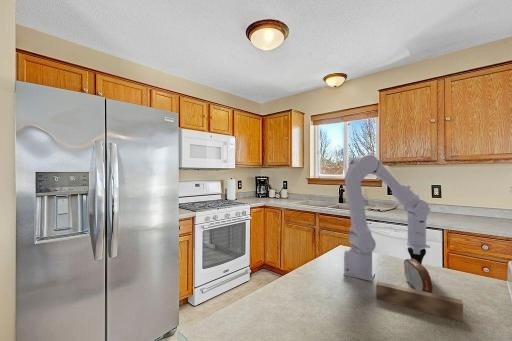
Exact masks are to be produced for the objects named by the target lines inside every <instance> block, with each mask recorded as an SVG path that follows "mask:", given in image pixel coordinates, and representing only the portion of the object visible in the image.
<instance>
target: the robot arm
mask: <svg viewBox="0 0 512 341" xmlns="http://www.w3.org/2000/svg"><path fill="white" fill-rule="evenodd" d="M368 175H373V176H376V177H377V178H378V179H380V181H381V182H383V183H384V184H385V185H386V186H387V187H389V189H390V190H391V195H392V196H393V197H394V198H396V200H397V201H398V202H399V203H400V204H401V206H403V210H404V211H405V212H407V242H406V245H407V252H408V254H409V256H410V259H415V260H416V261H418V262H419V263H420V264H421V265H423V259H424V257H425V256H426V254H427V248H428V249H429V248H431V245H430V244H428V243H427V219H428V215H429V213H430V212H431V207H429V204H428V203H427V201H425V200H422V199H421V198H420V196H419V195H418V194H416V193H415V192H414V191H413V190H412V189H411V186H410V185H408V184H405V183H399V181H398V180H397V178H395V177H394V175H393V174H391V172H390V171H389V170H388V169H387V168H386V167H385V166H384V164H383V162H382V161H381V160H379V159H378V158H377V157H376V156H375V155H373V154H366V155H357V156H354V158H352V160H350V161H349V163H348V168H347V171H346V173H345V176H344V184H345V190H346V198H347V203H348V210H349V216H350V224H351V225H350V227H349V235H348V241H349V243H350V245H351V246H350V248H345V250H344V255H343V256H344V257H343V276H346V277H347V276H348V277H352V278H357V279H360V280H365V281H370V282H372V281H373V279H374V276H375V275H376V272H375V271H373V252H374V251H375V249H376V248H377V247H376V246H377V243H376V240H375V239H374V237H373V235H372V231H371V229H370V227H369V226H368V223H367V222H368V221H367V216H366V215H367V214H366V209H365V204H364V203H365V202H364V196H363V191H362V190H363V189H362V184H361V183H362V181H363V180H364V179H365V178H366V177H367V176H368Z"/></svg>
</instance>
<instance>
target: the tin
mask: <svg viewBox="0 0 512 341" xmlns="http://www.w3.org/2000/svg"><path fill="white" fill-rule="evenodd" d="M403 267H404V269H403V270H404V276H405V279H406V281H407V282H408V284H409V286H411V287H412V289H415V290H419V291H424V292H428V293H433V282H432V278H431V275H430V273H429V271H428V269H427V267H425V266H424V265H423V264H420V263H419V262H418V261H416V260H415V259H411V258H406V259H405V260H404V261H403Z"/></svg>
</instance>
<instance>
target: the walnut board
mask: <svg viewBox="0 0 512 341" xmlns="http://www.w3.org/2000/svg"><path fill="white" fill-rule="evenodd" d="M375 290H376V291H375V300H378V301H382V302H386V303H390V304H393V305H397V306H399V307H404V308H408V309H411V310H416V311H420V312H424V313H428V314H430V315H431V314H432V315H435V316H438V317H443V318H447V319H450V320H454V321H458V322H462V323H464V302H463V300H462V299H459V298H454V297H451V296H446V295H442V294H441V295H440V294H436V293H433V292H432V293H428V292H424V291H419V290H415V289H414V288H411V287H407V286H401V285H396V284H391V283H387V282H383V281H380V280H377V281H376V284H375Z"/></svg>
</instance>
